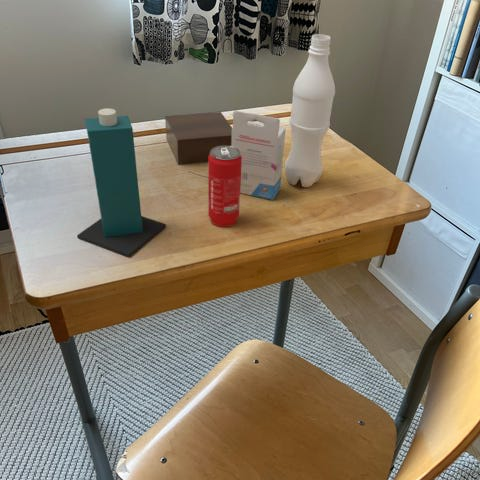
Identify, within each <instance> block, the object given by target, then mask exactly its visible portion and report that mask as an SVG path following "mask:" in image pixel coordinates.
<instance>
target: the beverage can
mask: <svg viewBox="0 0 480 480" xmlns="http://www.w3.org/2000/svg"><path fill="white" fill-rule="evenodd" d="M240 154H241V153H240V151H239V150H238V149H237V148H235V147H231V146H217V147H214V148H212V149H211V151H210V155H209V157H208V163H207V165H208V166H207V167H208V169H207V170H208V175H207V177H208V179H207V180H208V181H207V182H208V183H207V184H208V190H207V191H208V192H207V193H208V194H207V195H208V200H207V205H208V206H207V207H208V209H207V210H208V213H207V214H208V217H209V219H210V222H211V223H212V224H213V225H215V226H217V227H220V228H221V227H223V228H225V227H226V228H227V227H231V226H234V225H235V224H236V223H237V221H238V219H239V217H240V207H241V193H240V187H241V166H242V157H241V155H240Z"/></svg>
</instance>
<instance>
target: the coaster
mask: <svg viewBox="0 0 480 480" xmlns="http://www.w3.org/2000/svg"><path fill="white" fill-rule="evenodd" d="M141 218H142V227H143V233H135V234H127V235H119V236H111V237H105V235H104V231H103V226H102V220H101V218H99V219H98V220H97V221H96V222H94V223H93V224H91V225H90V226H88V227H87V228H85V229H84V230H82V231H81V232H80V233H78V234H77V236H76V237H77V239H79V240H81V241H84V242H86V243H90V244H92V245H95V246H97V247H100V248H102V249H106V250H108V251H109V252H110V251H111V252H112V253H113V252H114V253H116V254H119V255H121V256H124V257H126V258H130V257H132V256H133V255H134V254H135V253H136V252H138V251H139V250H140V249H141V248H143V247H144V246H145V245H146V244H147V243H148V242H150V241H151V240H152V239H153V238H155V237H156V236H157V235H158V234H159V233H161V232H162V231H163V230H164V229H166V227H167V224H166V223H164V222H161V221H158V220H155V219H152V218H150V217H146V216H144V215H141Z"/></svg>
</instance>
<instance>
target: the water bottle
mask: <svg viewBox="0 0 480 480" xmlns="http://www.w3.org/2000/svg"><path fill="white" fill-rule="evenodd" d="M330 46H331V36H330V35H327V34H322V33H316V34H312V35H311V40H310V45H309V49H308V50H307V52H308V57H307V60H306V62H305V65H304V66H303V68H302V69H301V71H300V72H299V74H298V75H297V77H296V79H295V81H294V84H293V88H292V100H291V102H292V103H291V109H290V117H289V125H290V131H291V145H290V149H289V154H288V156H287V159H286V160H285V162H284V174H285V178H286V180H287V182H288V183H289V184H290V185H292V186H296V185H297V183H298V182H299V181H300V183H301V186H302V188H309V187H311V186H313V184H316V183H317V182H318V181H319V180H320V178H321V176H322V173H323V168H324V167H323V161H322V145H323V141H324V138H325V136H326V134H327V133H328V131H329V129H330V126H331V121H330V120H331V114H332V109H333V103H334V97H335V95H336V85H335V81H334V77H333V74H332V71H331V68H330V63H329V56H330V55H331V51H330V50H331V47H330Z"/></svg>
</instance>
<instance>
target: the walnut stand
mask: <svg viewBox="0 0 480 480" xmlns="http://www.w3.org/2000/svg"><path fill="white" fill-rule="evenodd" d="M164 119H165V120H164V123H165V137H166V142H167V144H168V147H169V148H170V150H171V152H172V154H173V156H174V158H175V161H176V162H177V164H178V165H187V164H188V165H189V164H197V163H199V164H200V163H207V162H208V157H209V155H210V151H211V149H212V148H214V147H217V146H232V128H233V126H232V125H231V124H230V123H229V121H228V120H227V118H226V117H225V116H224V114H223V113H222V111H215V112H201V113H189V114H188V113H187V114H176V115H165V116H164Z"/></svg>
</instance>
